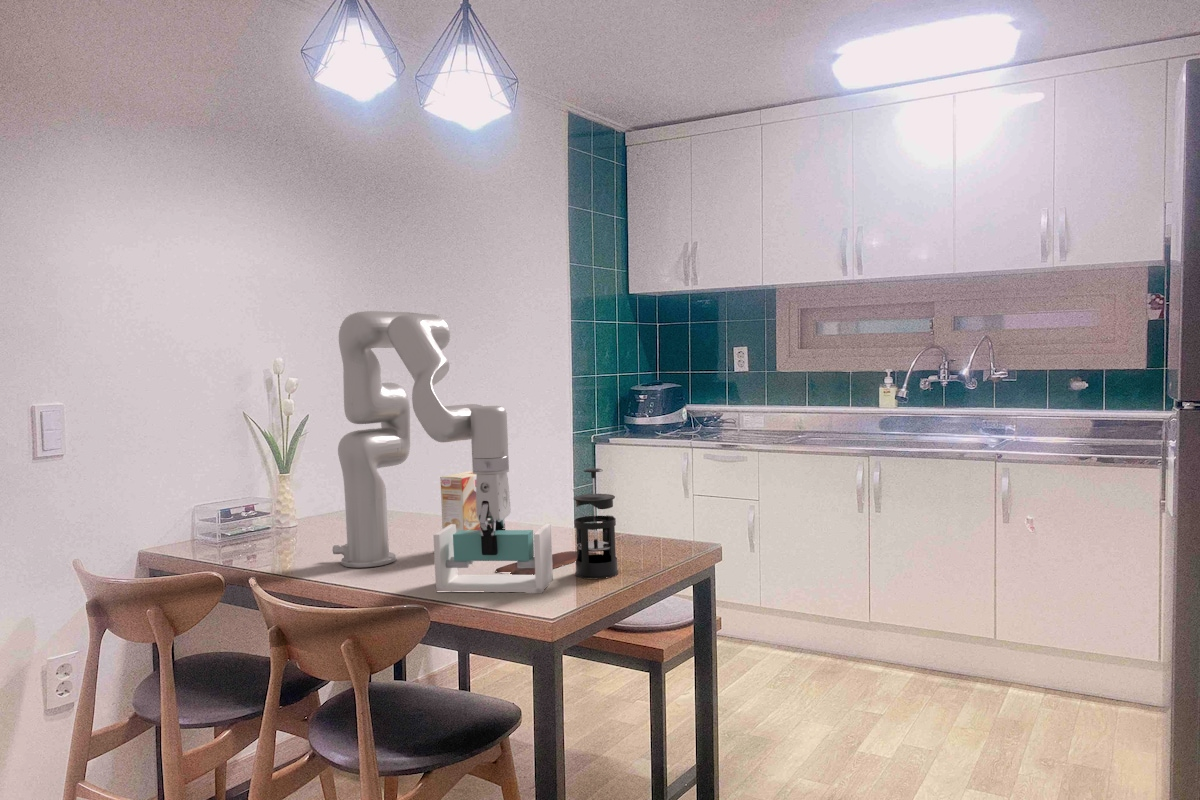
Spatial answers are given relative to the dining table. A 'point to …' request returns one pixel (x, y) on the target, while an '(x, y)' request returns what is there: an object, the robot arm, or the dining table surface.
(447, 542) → the peg frame
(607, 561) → the french press
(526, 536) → the plank
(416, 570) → the dining table surface
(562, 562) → the wooden tablet
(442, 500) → the coffeecake box
